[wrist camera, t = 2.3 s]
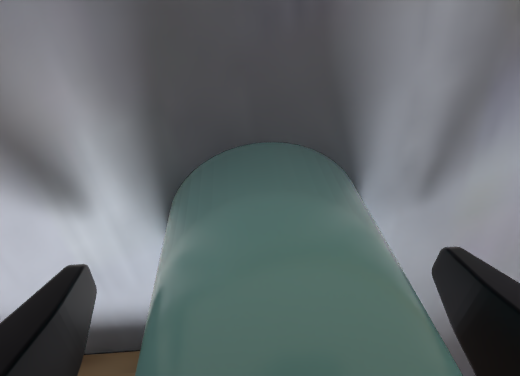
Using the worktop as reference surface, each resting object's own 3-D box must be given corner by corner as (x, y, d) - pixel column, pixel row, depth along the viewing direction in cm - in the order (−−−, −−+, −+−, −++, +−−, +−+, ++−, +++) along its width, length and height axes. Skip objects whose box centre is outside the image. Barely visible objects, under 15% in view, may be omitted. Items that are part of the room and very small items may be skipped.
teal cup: (378, 140, 8) (599, 400, 3) (341, 283, 11) (429, 527, 7) (155, 143, 8) (40, 454, 3) (180, 292, 11) (144, 563, 6)
